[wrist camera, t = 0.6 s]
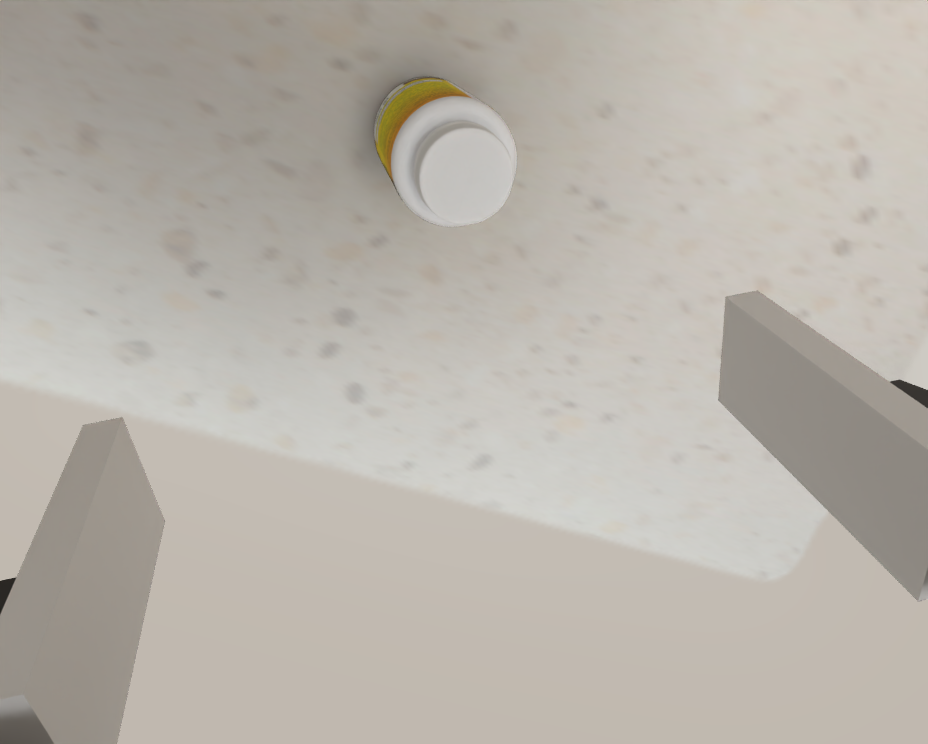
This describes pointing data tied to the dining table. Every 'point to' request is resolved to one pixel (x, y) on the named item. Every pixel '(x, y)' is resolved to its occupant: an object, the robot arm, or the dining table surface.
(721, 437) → the dining table surface
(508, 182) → the supplement bottle
